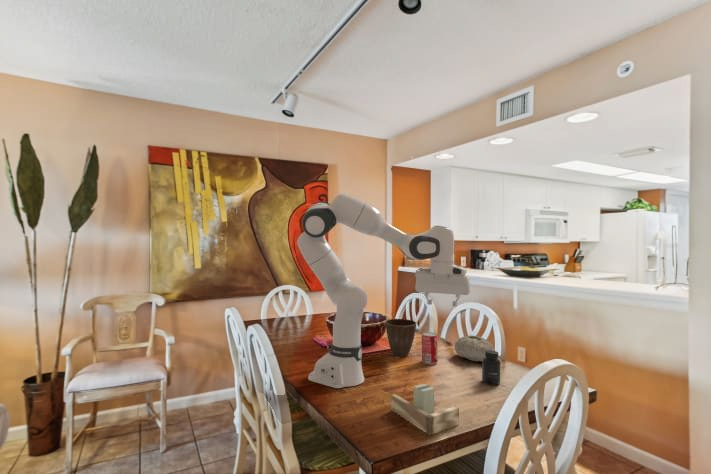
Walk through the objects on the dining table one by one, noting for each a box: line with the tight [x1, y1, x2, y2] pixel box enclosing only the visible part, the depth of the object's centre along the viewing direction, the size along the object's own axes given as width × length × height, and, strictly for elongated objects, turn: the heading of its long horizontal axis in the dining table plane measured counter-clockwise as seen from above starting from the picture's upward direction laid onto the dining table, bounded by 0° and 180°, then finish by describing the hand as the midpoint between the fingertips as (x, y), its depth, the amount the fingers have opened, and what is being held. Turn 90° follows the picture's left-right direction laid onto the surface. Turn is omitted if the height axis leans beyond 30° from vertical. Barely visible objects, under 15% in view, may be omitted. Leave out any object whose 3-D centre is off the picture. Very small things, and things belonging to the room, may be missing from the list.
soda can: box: [421, 332, 439, 366], centre depth 168 cm, size 7×7×13 cm
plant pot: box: [384, 318, 417, 358], centre depth 179 cm, size 15×15×16 cm
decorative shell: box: [454, 334, 495, 362], centre depth 174 cm, size 18×18×10 cm
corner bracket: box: [390, 393, 460, 436], centre depth 117 cm, size 12×18×5 cm, turn 32°
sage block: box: [413, 383, 435, 414], centre depth 117 cm, size 4×4×9 cm
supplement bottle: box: [481, 350, 502, 386], centre depth 146 cm, size 7×7×12 cm
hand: (442, 305), depth 140 cm, fingers open, 8 cm apart
